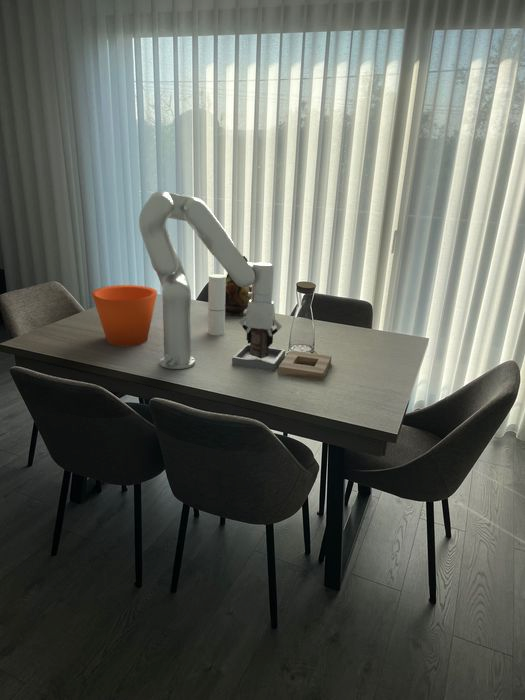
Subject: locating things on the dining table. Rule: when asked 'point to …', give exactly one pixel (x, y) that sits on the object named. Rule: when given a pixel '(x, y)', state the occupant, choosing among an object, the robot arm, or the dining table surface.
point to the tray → (258, 359)
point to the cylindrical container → (216, 304)
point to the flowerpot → (125, 313)
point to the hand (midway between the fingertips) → (259, 343)
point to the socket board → (305, 365)
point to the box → (259, 343)
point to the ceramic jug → (235, 297)
